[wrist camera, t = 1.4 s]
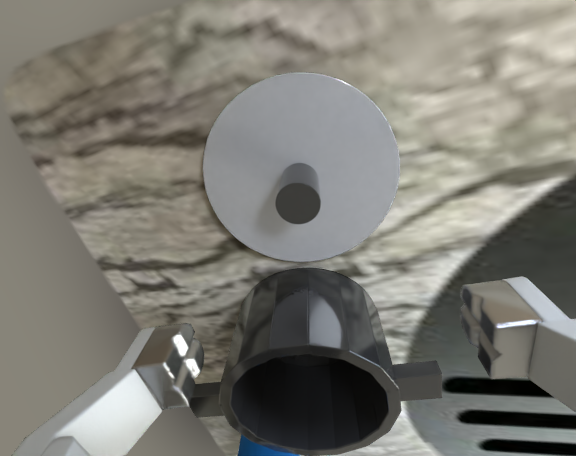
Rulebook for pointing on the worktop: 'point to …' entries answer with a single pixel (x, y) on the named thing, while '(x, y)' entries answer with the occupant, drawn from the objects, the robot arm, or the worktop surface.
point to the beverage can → (257, 449)
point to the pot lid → (301, 167)
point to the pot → (312, 368)
